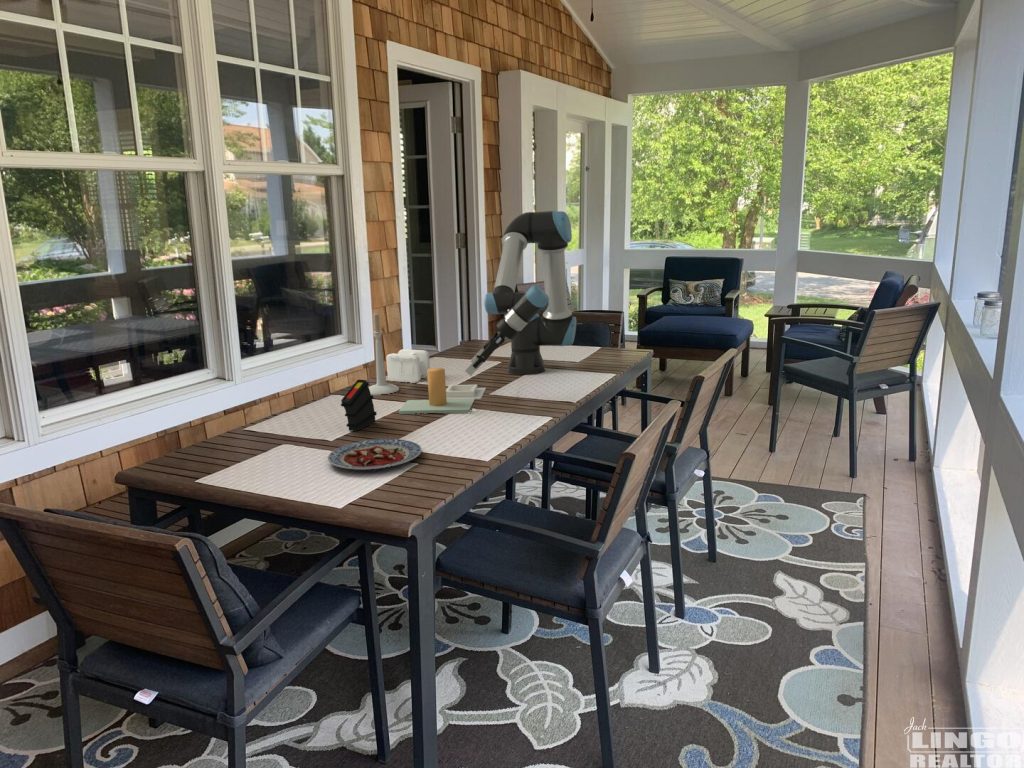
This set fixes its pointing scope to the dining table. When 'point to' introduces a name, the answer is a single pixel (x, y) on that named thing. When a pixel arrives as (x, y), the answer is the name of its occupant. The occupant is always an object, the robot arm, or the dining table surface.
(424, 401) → the sage board
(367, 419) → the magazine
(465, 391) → the base
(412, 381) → the cable organizer
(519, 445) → the dining table surface
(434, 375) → the orange plug
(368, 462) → the ceramic plate
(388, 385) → the candlestick
